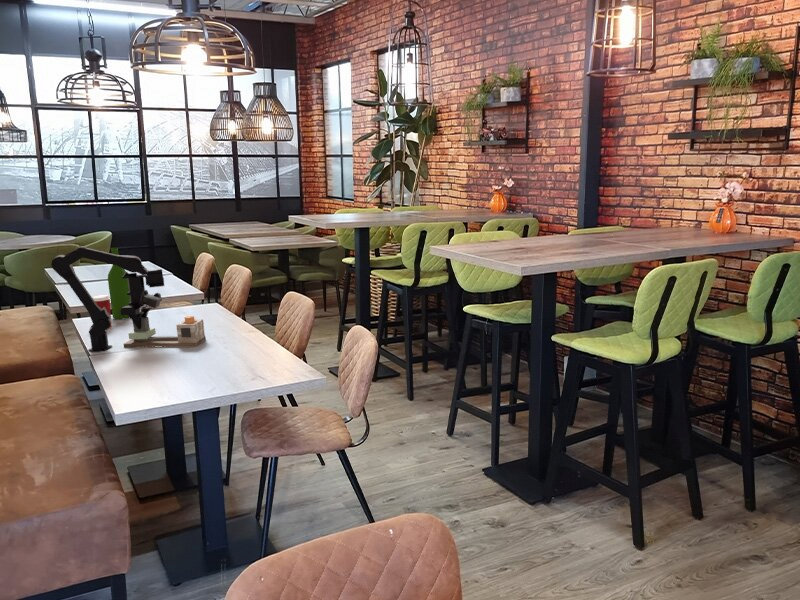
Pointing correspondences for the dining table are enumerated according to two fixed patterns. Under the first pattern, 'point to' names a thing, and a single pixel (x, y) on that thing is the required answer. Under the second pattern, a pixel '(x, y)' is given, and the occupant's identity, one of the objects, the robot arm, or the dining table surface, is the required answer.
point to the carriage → (142, 330)
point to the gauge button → (189, 320)
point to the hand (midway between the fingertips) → (141, 327)
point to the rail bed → (175, 337)
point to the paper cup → (103, 302)
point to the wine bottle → (118, 289)
